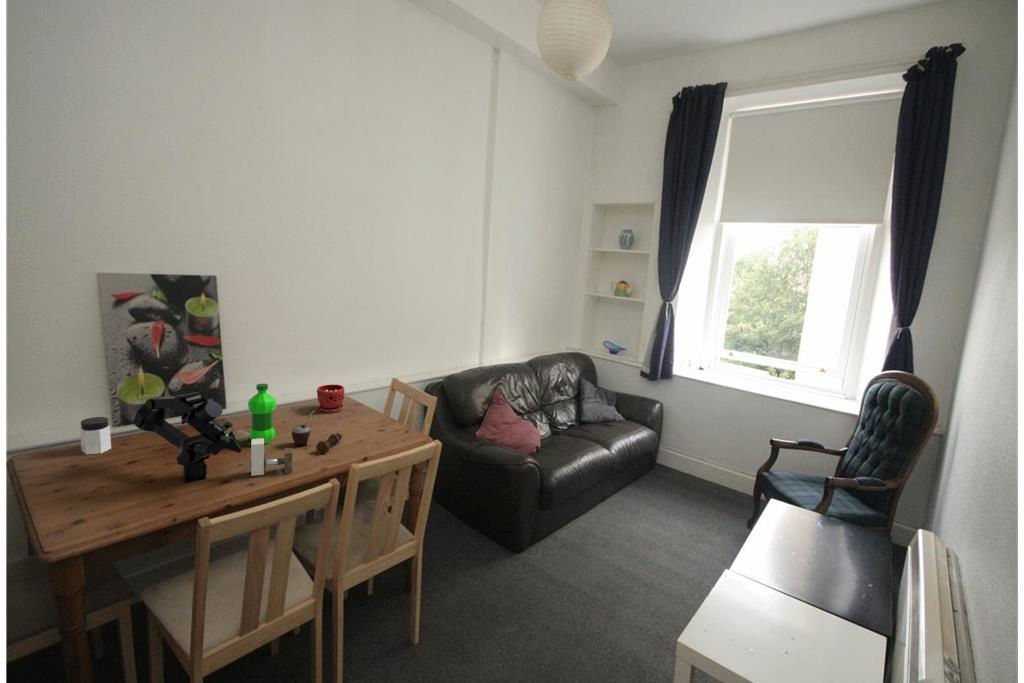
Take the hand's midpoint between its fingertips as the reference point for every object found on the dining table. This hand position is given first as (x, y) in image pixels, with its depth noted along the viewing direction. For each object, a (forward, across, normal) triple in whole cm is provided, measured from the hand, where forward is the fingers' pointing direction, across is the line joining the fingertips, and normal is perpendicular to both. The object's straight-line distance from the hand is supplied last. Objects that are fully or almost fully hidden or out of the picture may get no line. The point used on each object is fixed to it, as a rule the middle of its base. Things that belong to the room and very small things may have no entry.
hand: (240, 451), depth 184 cm
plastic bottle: (+11, -30, -2) cm, 32 cm away
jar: (-29, -35, -43) cm, 62 cm away
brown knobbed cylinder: (+30, -19, +17) cm, 39 cm away
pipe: (+11, 0, +2) cm, 11 cm away
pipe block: (+17, 0, +4) cm, 17 cm away
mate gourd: (+22, -24, +9) cm, 34 cm away
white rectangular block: (+10, 0, -2) cm, 11 cm away
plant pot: (+33, -66, +20) cm, 77 cm away
